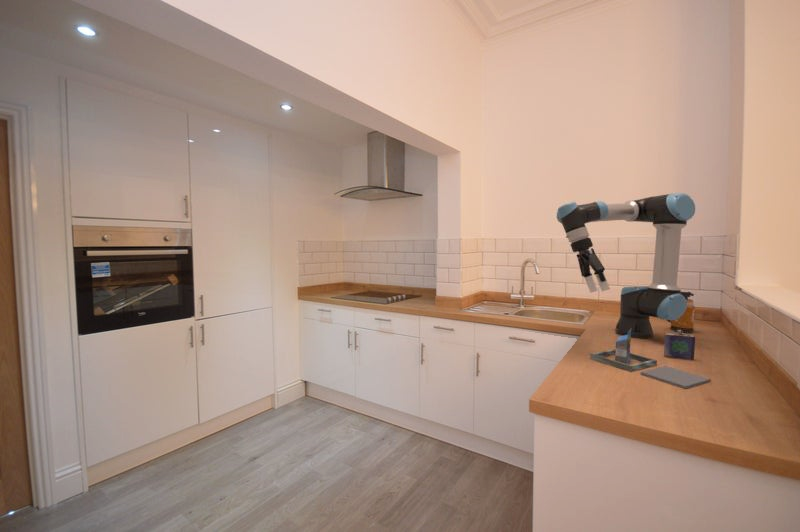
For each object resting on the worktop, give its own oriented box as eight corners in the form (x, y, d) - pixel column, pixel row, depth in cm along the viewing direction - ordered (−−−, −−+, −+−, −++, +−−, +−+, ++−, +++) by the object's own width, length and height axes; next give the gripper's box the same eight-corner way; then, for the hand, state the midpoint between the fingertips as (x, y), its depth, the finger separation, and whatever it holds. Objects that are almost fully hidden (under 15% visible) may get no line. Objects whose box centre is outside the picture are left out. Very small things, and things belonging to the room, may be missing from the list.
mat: (665, 368, 123) (665, 365, 123) (710, 381, 111) (710, 378, 111) (640, 374, 117) (640, 371, 117) (685, 388, 105) (685, 386, 105)
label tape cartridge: (618, 357, 134) (619, 325, 133) (630, 360, 132) (631, 327, 131) (614, 364, 127) (615, 330, 127) (627, 366, 125) (628, 332, 124)
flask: (664, 357, 135) (666, 329, 134) (662, 355, 137) (664, 328, 137) (695, 360, 131) (696, 332, 130) (692, 358, 134) (694, 330, 133)
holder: (615, 353, 139) (616, 348, 139) (656, 365, 126) (657, 360, 126) (590, 358, 133) (590, 353, 133) (630, 371, 120) (630, 366, 119)
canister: (694, 334, 169) (696, 292, 168) (665, 330, 176) (667, 291, 175) (693, 330, 176) (695, 290, 175) (665, 327, 183) (667, 289, 182)
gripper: (562, 248, 154) (580, 294, 150) (578, 237, 129) (600, 292, 126) (580, 242, 152) (598, 289, 149) (600, 230, 128) (622, 286, 125)
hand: (599, 291), depth 137 cm, fingers open, 13 cm apart
